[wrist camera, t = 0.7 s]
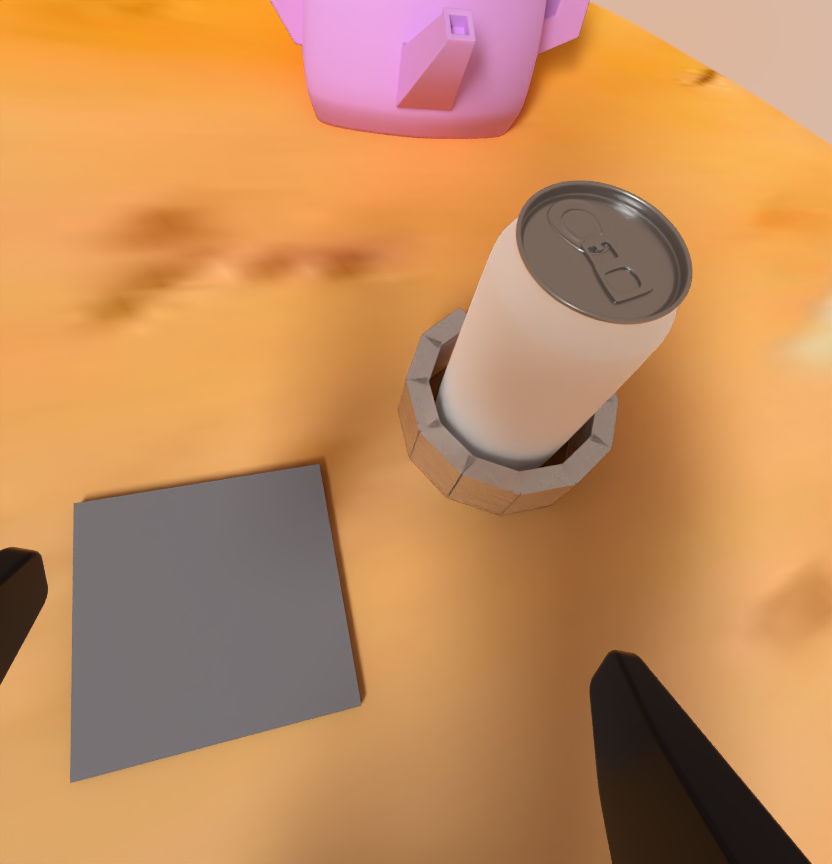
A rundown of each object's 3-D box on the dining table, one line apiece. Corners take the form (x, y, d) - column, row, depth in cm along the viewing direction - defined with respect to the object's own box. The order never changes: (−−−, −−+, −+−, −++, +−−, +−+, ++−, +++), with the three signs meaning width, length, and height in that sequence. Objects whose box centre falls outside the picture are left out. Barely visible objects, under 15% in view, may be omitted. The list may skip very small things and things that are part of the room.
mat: (360, 705, 21) (361, 705, 21) (74, 781, 19) (70, 782, 18) (319, 467, 25) (319, 463, 24) (77, 506, 23) (73, 503, 22)
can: (517, 349, 29) (628, 154, 19) (581, 451, 27) (748, 298, 16) (410, 387, 27) (464, 193, 17) (470, 500, 25) (577, 363, 14)
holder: (615, 492, 26) (648, 470, 24) (426, 529, 24) (439, 510, 22) (552, 330, 30) (574, 295, 27) (383, 350, 28) (389, 314, 25)
